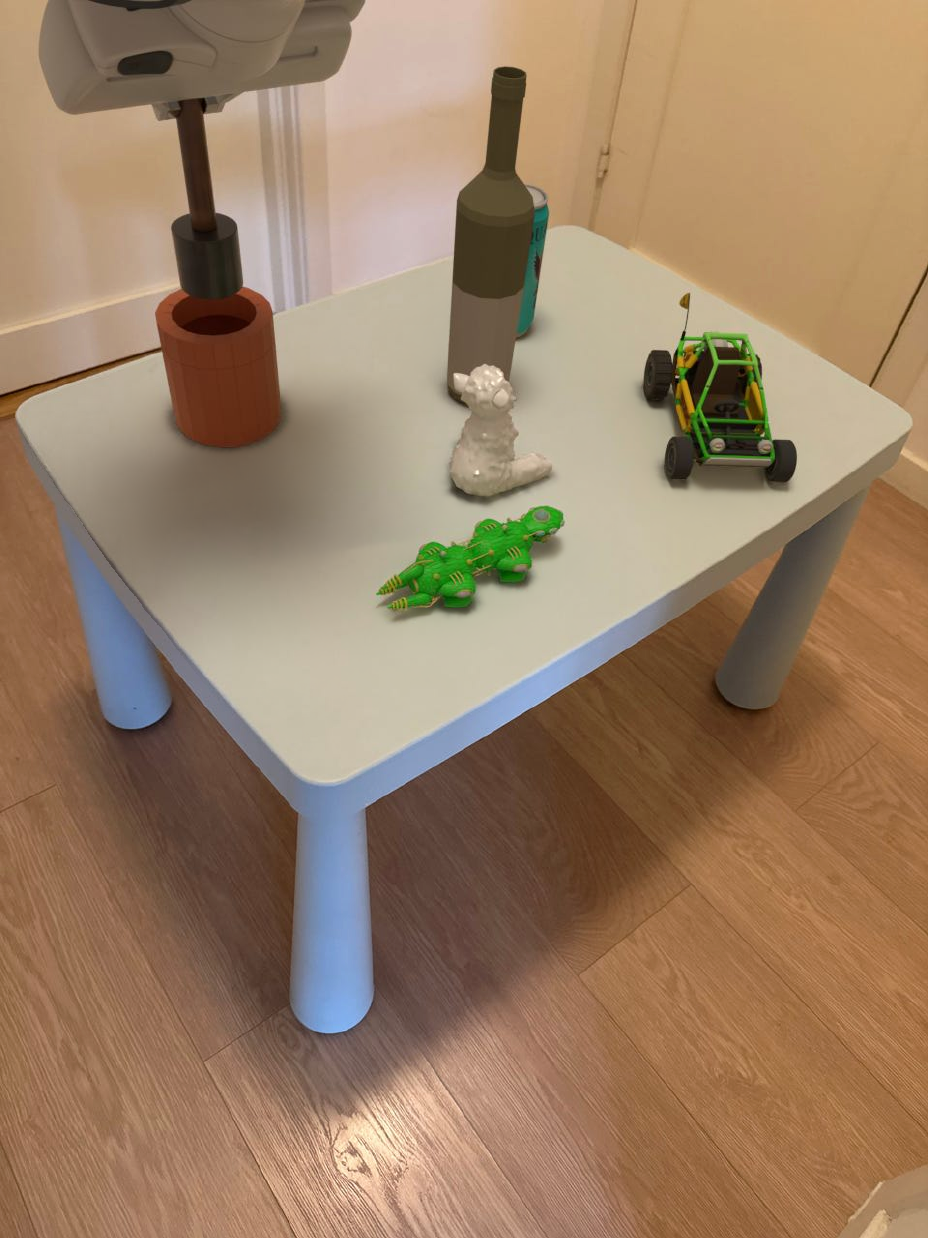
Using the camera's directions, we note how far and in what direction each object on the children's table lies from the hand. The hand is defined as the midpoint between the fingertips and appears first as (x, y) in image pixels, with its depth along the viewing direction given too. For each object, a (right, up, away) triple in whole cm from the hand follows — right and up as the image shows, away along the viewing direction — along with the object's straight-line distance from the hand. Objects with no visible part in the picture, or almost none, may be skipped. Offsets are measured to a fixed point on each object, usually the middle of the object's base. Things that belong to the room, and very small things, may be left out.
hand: (185, 106), depth 68 cm
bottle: (+22, -15, +27) cm, 38 cm away
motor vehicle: (+45, -19, +26) cm, 56 cm away
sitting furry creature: (+23, -25, +19) cm, 38 cm away
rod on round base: (-1, -9, +10) cm, 14 cm away
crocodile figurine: (+21, -34, +10) cm, 42 cm away
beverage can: (+25, -5, +36) cm, 44 cm away
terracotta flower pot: (-2, -18, +22) cm, 28 cm away
